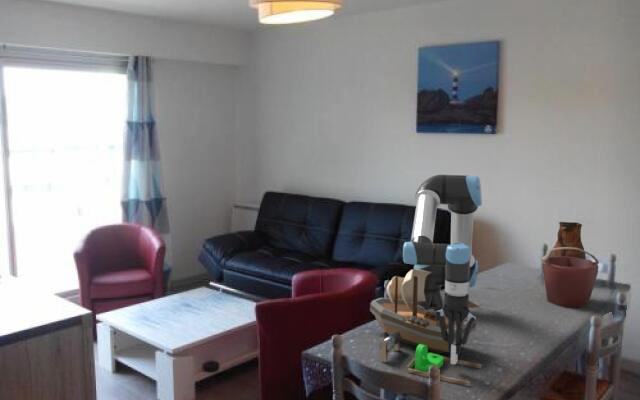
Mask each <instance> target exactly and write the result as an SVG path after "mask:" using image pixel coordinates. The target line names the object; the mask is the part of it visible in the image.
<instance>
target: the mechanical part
mask: <svg viewBox="0 0 640 400" xmlns="http://www.w3.org/2000/svg"><path fill="white" fill-rule="evenodd" d="M428 351H429V350H428V348H427V346H426V345H422V344H419V345H418V346H416V348H415V354H414V358H415V365H414V368H415V370H419V371H423V372H428V371H429V367H430V366H431V365H436V366H438V367H439V369H440V368H441V367H442V366H443V365H444V361H443V357H444V356H443V355H440V354H439V353H435V352H428ZM442 356H443V357H442Z"/></svg>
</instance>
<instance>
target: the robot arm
mask: <svg viewBox="0 0 640 400" xmlns="http://www.w3.org/2000/svg"><path fill="white" fill-rule="evenodd" d="M481 185H482V184H481V179H480V177H478V176H477V175H470V174H466V175H465V174H464V175H463V174H462V175H461V174H460V175H459V174H436V175H432V176H430V177H429V178H427V179H426V180H424V181H423V182H422V183H421V184H420V185H419V187H418V188H417V190H416V192H415V196H414V204H415V206H416V207H415V212H414V218H413V224H412V232H411V236H410V237H411V238H410V241H405V242H403V246H402V247H403V248H402V260H403V263H404V264H407V265H408V264H409V265H414V266H413V269H419V270H423V271H428V272H432V273H430V274H428V275H427V276H426V278H425V285H424V295H425V300H426V301H418V302H417V305H419V306H421V307H423V308H424V309H425V310H430V309H434V311H437V312H436V315H437V317H438V319H439V324H440V329H441V334H442V338H443V341H446V342H448V353H449V354H450V358H451V362H450V364H451V365H456V363H457V360H459V359H458V355H460V354H461V352H462V345H463V346H464V345H466V343H467V342H468V340H469V336H470V334H471V333H470V330H471V327H472V324H473V322H474V321H475V322H476V319H477V316H476V315H473V314H472V313H471V311H470V308H468V300H469V298H470V297H469V296H470V295H469V293H470V288H473V287H475V285H476V283H477V279H478V271H479V261H478V260H476V259H475V256H474V255H473V254H472V251H473V250H472V249H473V233H474V232H473V230H474V213H475V212H476V211H477V210H478V208H479V207H481V206H482V205H483V203H482V202H483V197H482V186H481ZM439 205H446V206H447V209H448V211H450V215H451V217H450V220H451V221H450V244H449V243H433V242H434V235H435V234H434V233H435V226H436V225H435V224H436V217H437V209H438V207H439ZM442 286H443V287H444V298H443V295H442V292H441V291H442V290H441V287H442ZM469 301H470V300H469ZM412 303H413V302H412ZM444 313H445V315H444ZM444 317H447V318H448V324H449V329H448V332H447V327H446V322H445V318H444ZM465 318H466V319H467V320H468V321H469V322H468V323H467V326H466V329H465V333H464V336H463V339H462V323H463V320H464V319H465ZM455 321H456V325H457V326H456V342H453V341H454V322H455Z"/></svg>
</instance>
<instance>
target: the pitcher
mask: <svg viewBox="0 0 640 400" xmlns="http://www.w3.org/2000/svg"><path fill="white" fill-rule="evenodd" d="M558 224H559V227H558V228H559V229H558V232H557V240H556V242H555V244H554V246H553V248H559V247H573V248H579V249H581V250H584V251H585V247H584V245H583V243H582V235H581V233H582V227H583V224H581V223H580V222H575V221H574V222H570V221H568V222H566V221H560V222H558ZM562 256H569V257H575V258H581V259H586V260H587V258H586V253H584V252H581V251H579V250H571V249H566V250H558V251H553V252H552V254H551V256H550V257H562Z"/></svg>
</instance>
